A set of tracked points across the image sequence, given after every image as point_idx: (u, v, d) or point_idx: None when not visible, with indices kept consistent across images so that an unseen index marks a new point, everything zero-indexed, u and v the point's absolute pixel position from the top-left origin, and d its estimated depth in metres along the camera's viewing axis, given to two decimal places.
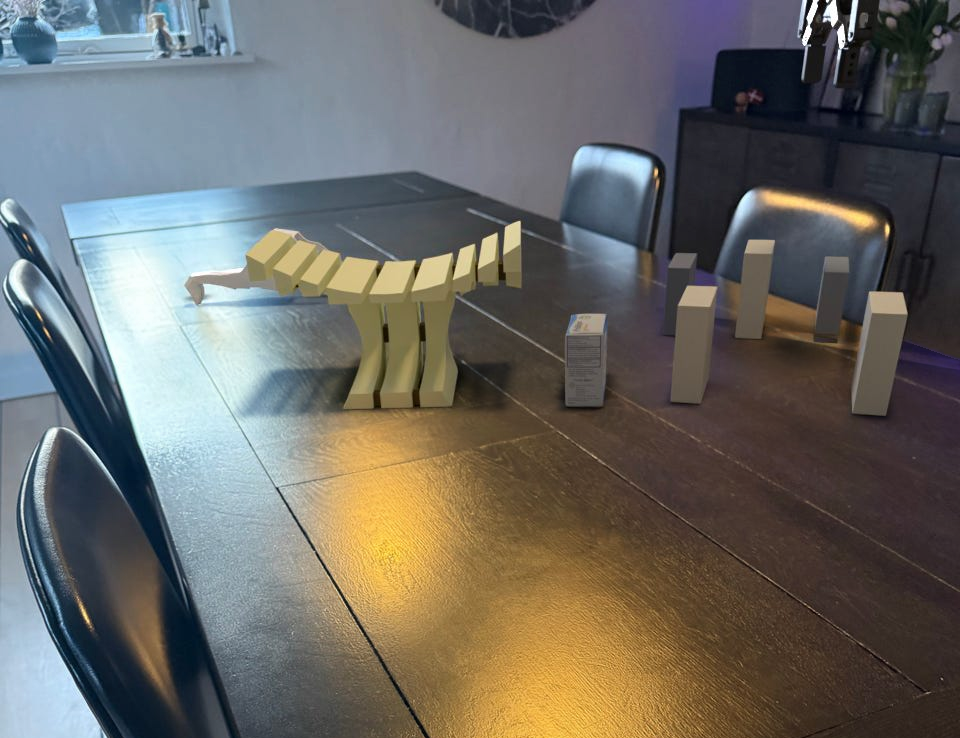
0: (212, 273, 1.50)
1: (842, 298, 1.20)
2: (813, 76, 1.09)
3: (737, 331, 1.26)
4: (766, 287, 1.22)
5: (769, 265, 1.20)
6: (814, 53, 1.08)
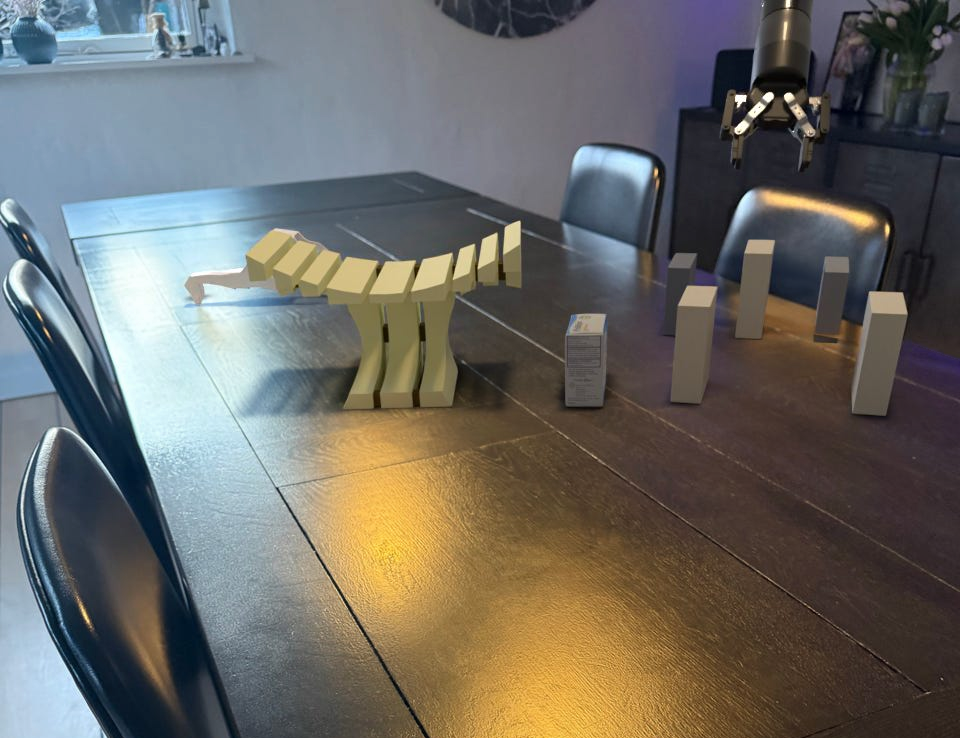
0: (212, 273, 1.50)
1: (842, 298, 1.20)
2: (800, 163, 1.25)
3: (737, 331, 1.26)
4: (766, 287, 1.22)
5: (769, 265, 1.20)
6: (801, 149, 1.26)
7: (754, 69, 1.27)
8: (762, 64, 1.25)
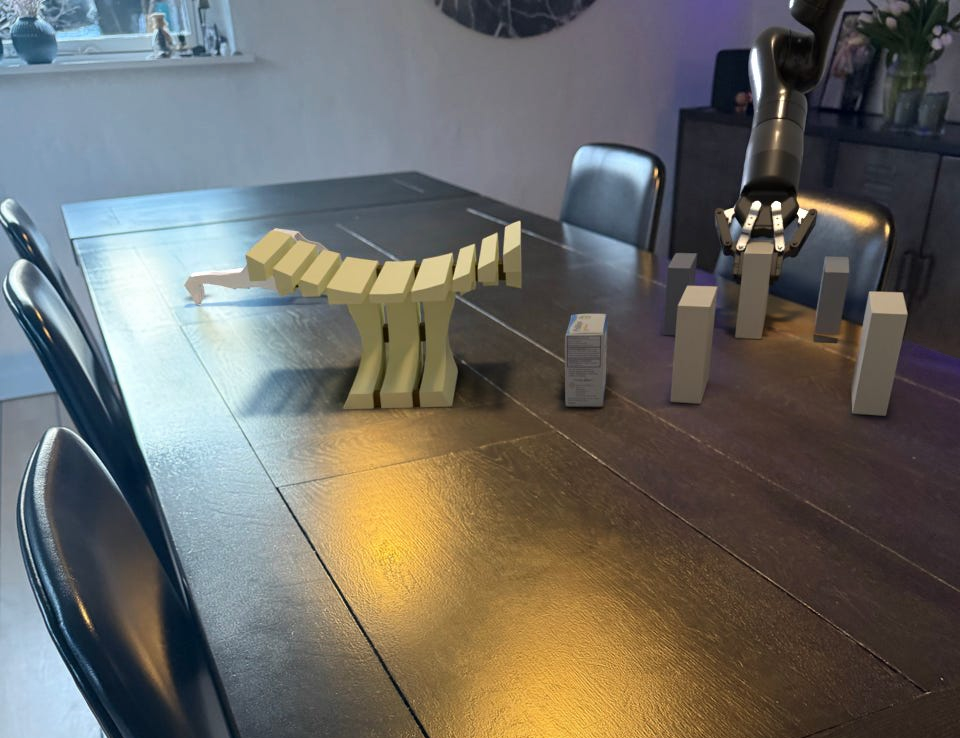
0: (212, 273, 1.50)
1: (842, 298, 1.20)
2: None
3: (737, 331, 1.26)
4: (766, 287, 1.22)
5: (769, 265, 1.20)
6: None
7: (743, 178, 1.26)
8: (749, 174, 1.24)
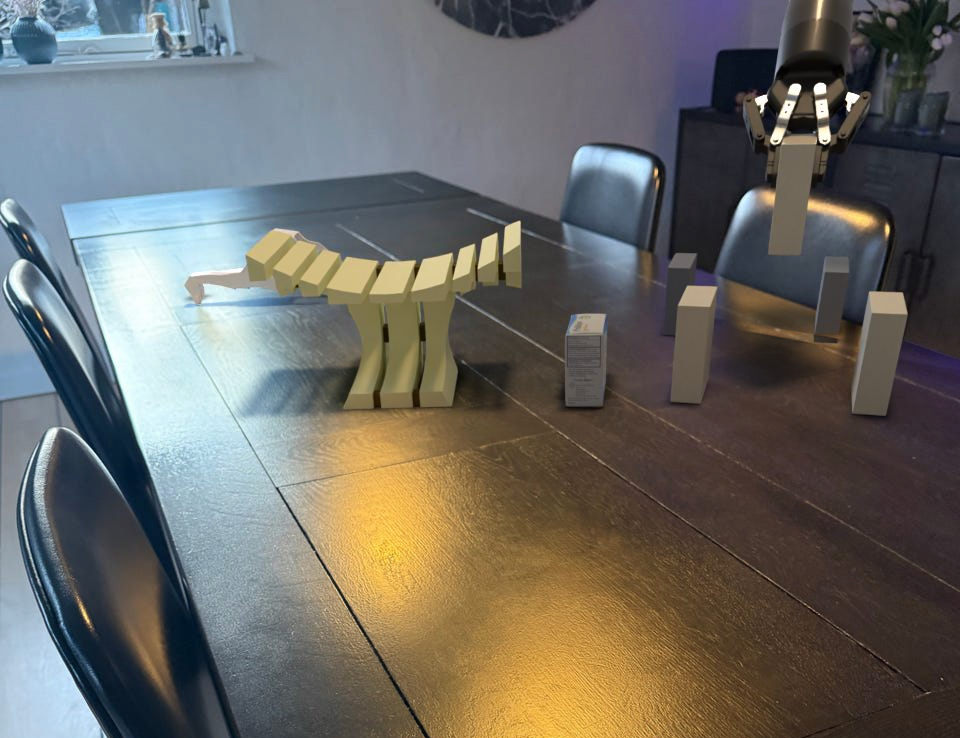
0: (212, 273, 1.50)
1: (842, 298, 1.20)
2: None
3: (771, 246, 1.03)
4: (808, 188, 0.98)
5: (812, 159, 0.97)
6: None
7: (778, 58, 1.02)
8: (786, 50, 1.01)
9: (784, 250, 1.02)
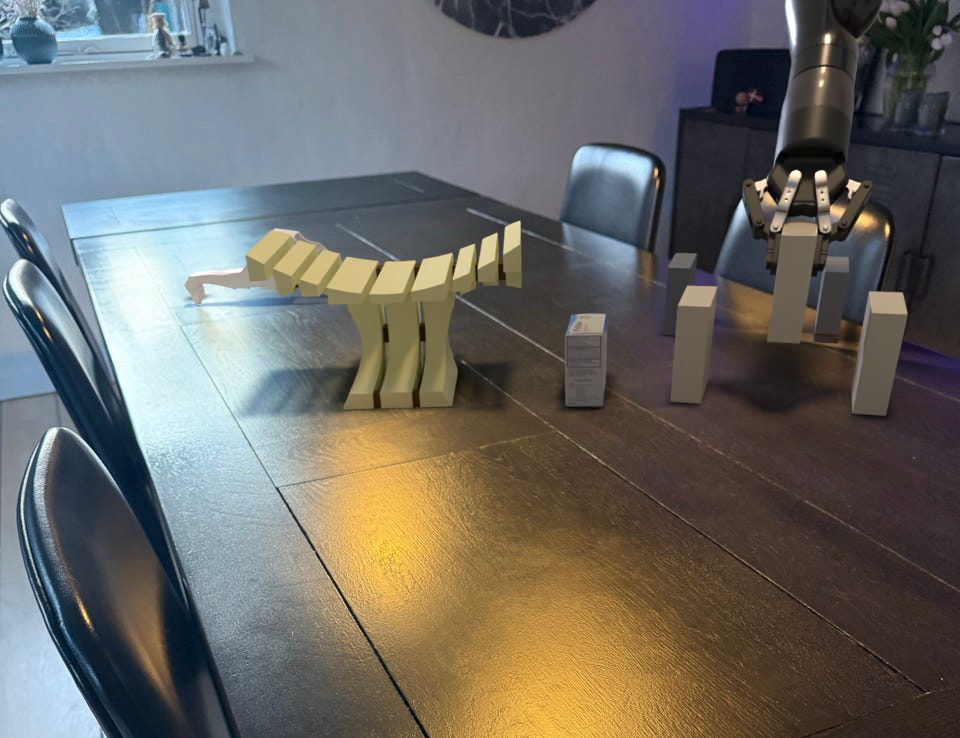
0: (212, 273, 1.50)
1: (842, 298, 1.20)
2: None
3: (770, 333, 1.01)
4: (808, 278, 0.97)
5: (813, 250, 0.95)
6: None
7: (778, 142, 1.00)
8: (787, 136, 0.99)
9: (783, 338, 1.01)
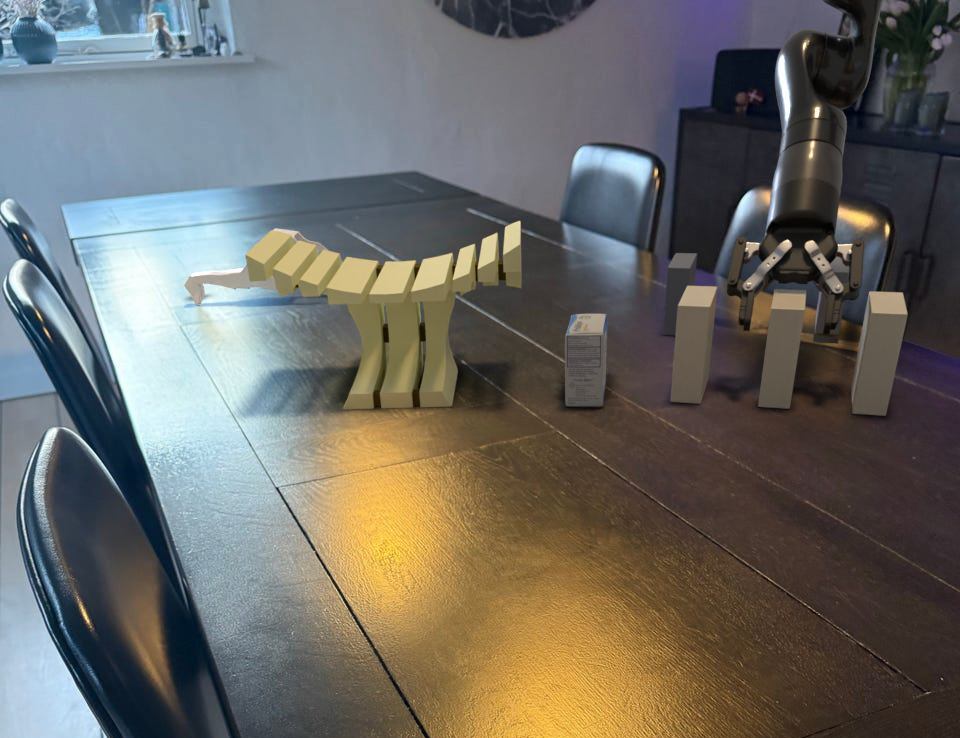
0: (212, 273, 1.50)
1: None
2: (824, 325, 1.02)
3: (761, 399, 1.05)
4: (797, 349, 1.01)
5: (801, 323, 0.99)
6: (826, 306, 1.02)
7: (769, 212, 1.04)
8: (778, 207, 1.03)
9: (774, 403, 1.05)
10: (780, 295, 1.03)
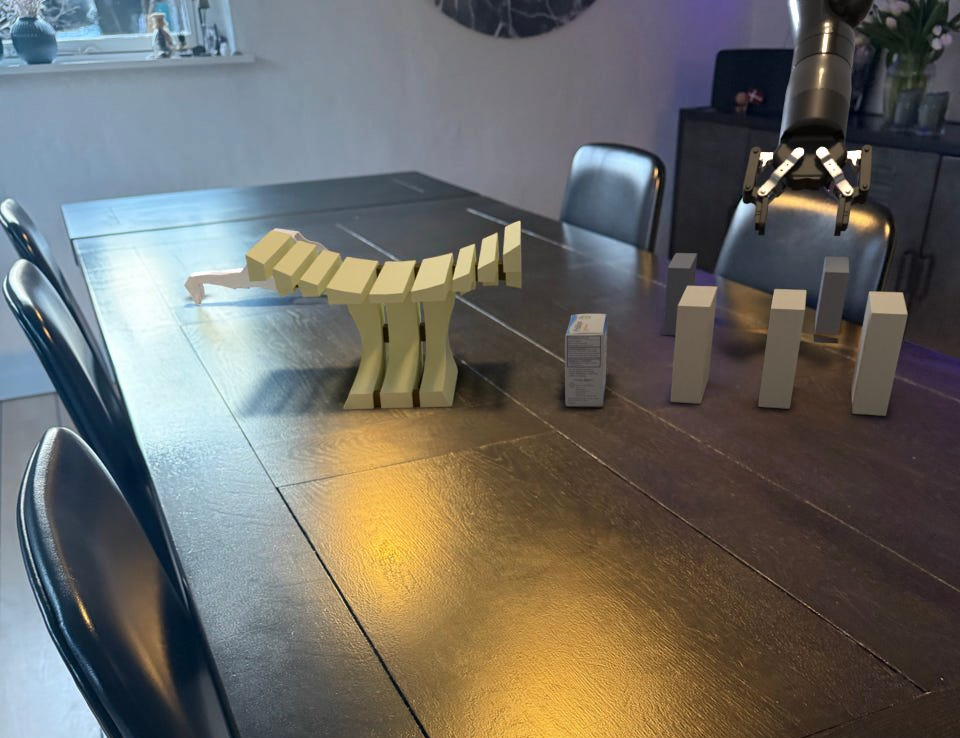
0: (212, 273, 1.50)
1: (842, 298, 1.20)
2: (835, 226, 1.08)
3: (761, 399, 1.05)
4: (797, 349, 1.01)
5: (801, 323, 0.99)
6: (837, 210, 1.08)
7: (782, 123, 1.11)
8: (790, 117, 1.09)
9: (774, 403, 1.05)
10: (780, 295, 1.03)
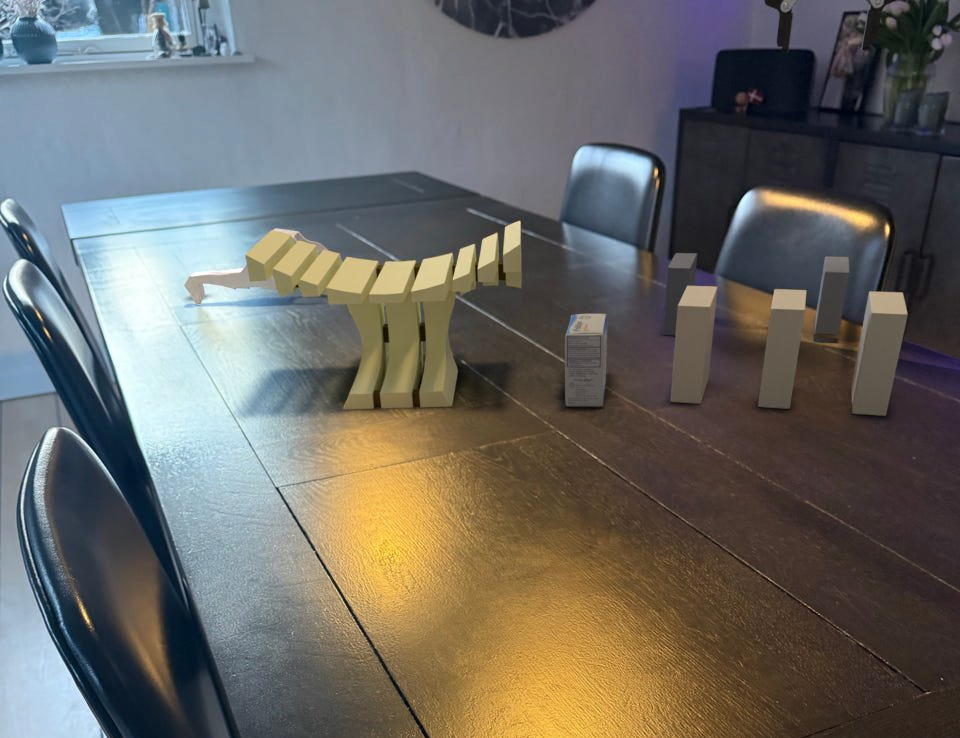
0: (212, 273, 1.50)
1: (842, 298, 1.20)
2: None
3: (761, 399, 1.05)
4: (797, 349, 1.01)
5: (801, 323, 0.99)
6: None
7: None
8: None
9: (774, 403, 1.05)
10: (780, 295, 1.03)
